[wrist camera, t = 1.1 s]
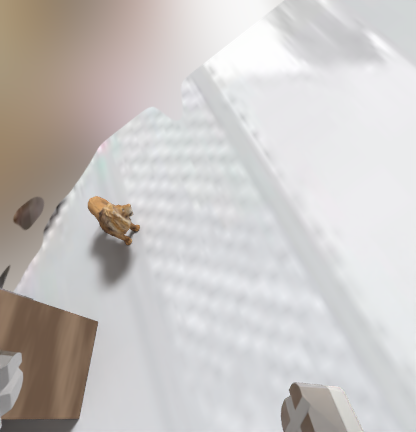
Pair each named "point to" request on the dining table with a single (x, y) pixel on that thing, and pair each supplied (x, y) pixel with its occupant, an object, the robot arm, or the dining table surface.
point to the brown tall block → (46, 356)
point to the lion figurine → (113, 218)
